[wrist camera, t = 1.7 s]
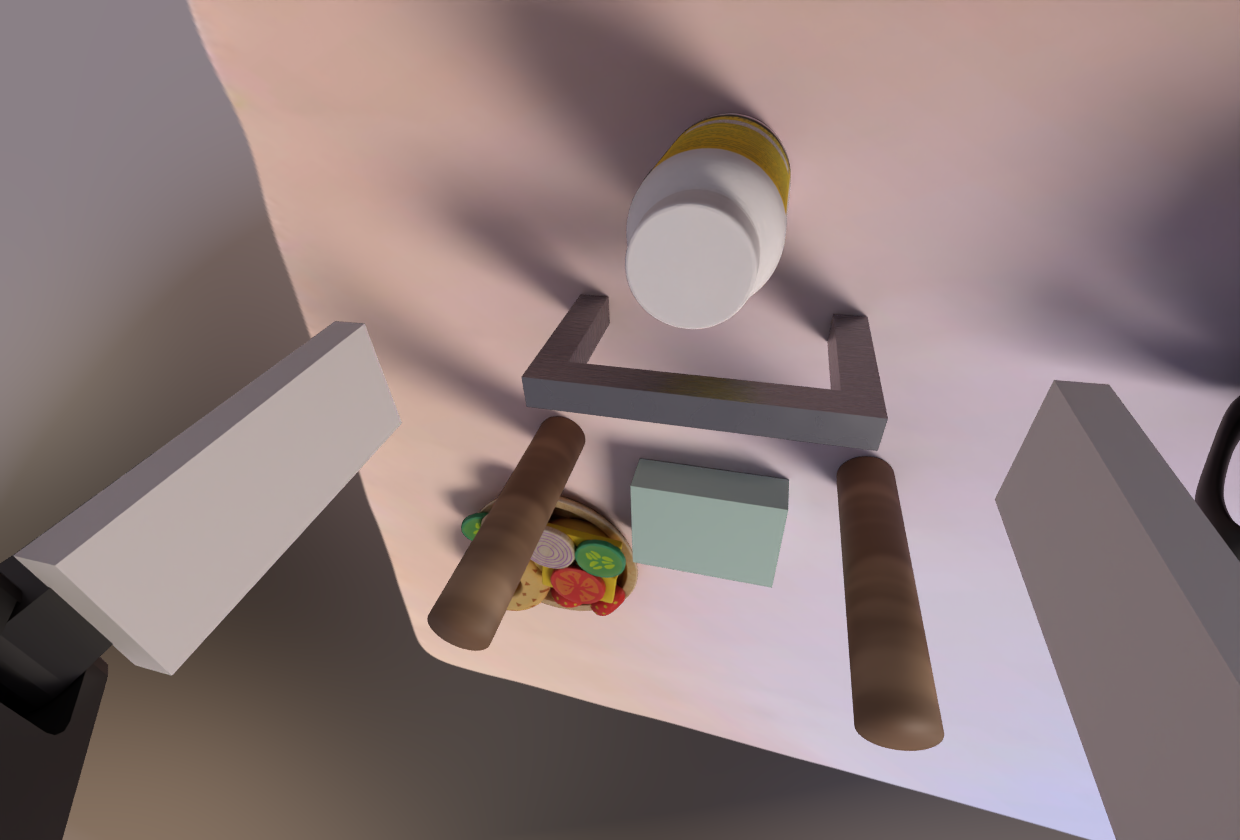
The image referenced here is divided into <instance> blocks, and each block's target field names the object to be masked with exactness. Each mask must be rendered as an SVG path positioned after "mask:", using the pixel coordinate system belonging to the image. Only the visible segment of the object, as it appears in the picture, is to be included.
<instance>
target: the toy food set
mask: <svg viewBox="0 0 1240 840" xmlns="http://www.w3.org/2000/svg"><path fill="white" fill-rule="evenodd" d="M497 499H498V498H497ZM497 499H495V500H493V501H492V502H490V503H488V504H487V505H486V506H485V507H484V508H483V509H482V510H481V511H480V513H475V514H472V515H469V516H468V517H466V518H465V519H464V520H463V522H462V526H461V530H462V533H463V534H464V535H465V537H467V538H468V539H469V540H472V541H473V539H474V537H475V536H476V534H477V532H478V531H479V529H480V527H481V526H482V524H483V522H484V520H485V519H486V517H487V515H488V514H489V512H490V510H491V509H492V507H493V505H494V504H495V502H496V500H497ZM637 576H638V569H637V563H635V562H633V551H632V549H631V547H630V546H629V544H628V542H627V541H626V540H625V538H624V537H623V536H622V535H621V533H620V532H619V531H618V530H617V529H616V528H615V527H614V526H613V525H612V524H611V523H610V522H609V521H607V520H606V519H605V518H604V517H602V516H601V515H600V514H598V513H597V512H595V511H594V510H592V509H590V508H589V507H587V506H585V505H583V504H581V503H579V502H576V501H574V500H571V499H568V498H565V497H562V496H560V498H559V500H558V502H557V504H556V506H555V508H554V510H553V512H552V514H551V517H550V519H549V521H548V523H547V525H546V527H545V529H544V531H543V533H542V536H541V538H540V540H539V542H538V544H537V546H536V548H535V550H534V553H533V555H532V557H531V559H530V561H529V563H528V565H527V567H526V569H525V572H524V574H523V576H522V578H521V580H520V582H519V584H518V586H517V588H516V591H515V593H514V595H513V597H512V599H511V601H510V603H509V605H508V607H507V610H512V611H520V610H526V609H529V608H532V607H534V606H536V605H538V604H539V603H544V604H547V605H551V606H554V607H558V608H563V609H569V610H577V611H590V610H593V611H594V612H595V613H596V614H597V615H600V616H606V615H608V614H610V613H612V612H613V611H614V610H615V609H617V608H618V607H619V606H620V605H621V604H622V603H623V601H624V599H626V598H627V597H628V596H629V595H630V594H631V592H632V591H633V589H634V588H635V585H636V582H637Z"/></svg>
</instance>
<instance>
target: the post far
mask: <svg viewBox="0 0 1240 840" xmlns="http://www.w3.org/2000/svg"><path fill="white" fill-rule="evenodd" d="M584 444H585V436H584V433H583V431H582V429H581V428H580V427H579V426H578V425H577V424H576V423H575V422H573V421H571V420H570V419H567V418H564V417H558V416H556V417H550V418H548V419H546V420H545V421H544V422H543V423H542V424H541V426H540V428H539V429H538V431H537V433H536V434H535V436H534V438H533V440H532V441H531V443H530V445H529V446H528V448H527V450H526V451H525V453H524V455H523V456H522V458H521V460H520V461H519V463H518V465H517V467H516V468H515V470H514V472H513V473H512V475H511V477H510V478H509V480H508V482H507V483H506V485H505V487H504V488H503V490H502V492H501V493H500V495H499V497H498V499H497V500H496V502H495V504H494V505H493V507H492V509H491V510H490V512H489V514H488V515H487V517H486V519H485V520H484V522H483V524H482V526H481V527H480V529H479V531H478V532H477V534H476V536H475V537H474V539H473V541H472V542H471V544H470V546H469V547H468V549H467V551H466V552H465V554H464V556H463V558H462V559H461V561H460V563H459V564H458V566H457V568H456V569H455V571H454V573H453V574H452V576H451V578H450V579H449V581H448V583H447V585H446V586H445V588H444V590H443V591H442V593H441V595H440V596H439V598H438V600H437V601H436V603H435V605H434V606H433V608H432V610H431V612H430V613H429V615H428V624H429V626H430V627H431V629H432V630H433V631H434V632H435V633H436V634H437V635H438V636H439V637H441V638H442V639H443V640H445V641H447V642H448V643H450V644H452V645H455V646H457V647H460V648H463V649H467V650H474V651H478V650H484V649H486V648H488V647H489V645H490V643H491V641H492V639H493V637H494V635H495V633H496V631H497V629H498V627H499V624H500V622H501V620H502V618H503V616H504V614H505V612H506V610H507V607H508V605H509V603H510V601H511V599H512V597H513V595H514V593H515V591H516V588H517V586H518V584H519V582H520V580H521V578H522V576H523V574H524V572H525V569H526V567H527V565H528V563H529V561H530V559H531V557H532V555H533V553H534V550H535V548H536V546H537V544H538V542H539V540H540V538H541V536H542V533H543V531H544V529H545V527H546V525H547V523H548V521H549V519H550V517H551V514H552V512H553V510H554V508H555V506H556V504H557V502H558V500H559V498H560V495H561V493H562V491H563V489H564V487H565V485H566V483H567V481H568V478H569V476H570V474H571V472H572V470H573V468H574V466H575V464H576V462H577V459H578V457H579V455H580V453H581V451H582V449H583V447H584Z"/></svg>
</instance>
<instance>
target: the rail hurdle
mask: <svg viewBox="0 0 1240 840" xmlns="http://www.w3.org/2000/svg"><path fill="white" fill-rule="evenodd" d="M609 323H610V319H609V300H608V297H604V296H592V295H580V296H579V297H578V299H577V300H576V302H575V303H574V304H573V306H572V307H571V309H570V310H569V311H568V313H567V314H566V316H565V317H564V318H563V320H562V321H561V323H560V324H559V325H558V327H557V328H556V330H555V331H554V332H553V334H552V335H551V337H550V338H549V339H548V341H547V342H546V343H545V345H544V346H543V348H542V349H541V350H540V352H539V353H538V355H537V356H536V357H535V359H534V360H533V362H532V363H531V364H530V366H529V367H528V369H527V370H526V371H525V373H524V374H523V376H522V383H523V389H524V395H525V400H526V406H527V407H534V408H542V409H550V410H558V411H566V412H574V413H582V414H590V415H597V416H605V417H613V418H621V419H629V420H637V421H645V422H653V423H661V424H669V425H677V426H685V427H692V428H700V429H708V430H716V431H724V432H732V433H740V434H748V435H756V436H764V437H772V438H780V439H788V440H795V441H803V442H811V443H819V444H827V445H835V446H843V447H851V448H859V449H867V450H875V451H878V448H879V445H880V442H881V439H882V435H883V432H884V429H885V426H886V423H887V420H888V417H887V412H886V407H885V402H884V397H883V392H882V387H881V382H880V377H879V372H878V367H877V362H876V357H875V352H874V347H873V342H872V337H871V332H870V327H869V322H868V317H862V316H849V315H837V314H833V319H832V323H831V328H830V333H829V337H828V342H827V343H828V356H829V370H830V383H831V390H830V389H821V388H811V387H802V386H792V385H783V384H773V383H764V382H755V381H745V380H736V379H726V378H717V377H707V376H698V375H688V374H679V373H669V372H660V371H650V370H641V369H631V368H622V367H613V366H603V365H594V364H587V362H588V360H589V359H590V357H591V355H592V353H593V352H594V350H595V348H596V346H597V344H598V343H599V341H600V339H601V337H602V336H603V334H604V332H605V330H606V329H607V327H608V325H609Z"/></svg>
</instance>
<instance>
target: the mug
mask: <svg viewBox="0 0 1240 840" xmlns="http://www.w3.org/2000/svg"><path fill="white" fill-rule="evenodd" d="M1239 441H1240V396H1239V397H1238V398H1236V399H1235V400H1234V401H1233V402H1232V403H1231V405H1230V406H1229V407H1228V409H1227V411H1226V412H1225V414H1224V416H1223V419H1222V421H1221V423H1220V425H1219V428H1218V430H1217V433H1216V435H1215V438H1214V441H1213V444H1212V446H1211V449H1210V452H1209V455H1208V457H1207V460H1206V463H1205V466H1204V468H1203V471H1202V474H1201V477H1200V480H1199V483H1198V486H1197V490H1196V495H1195V502H1196V503H1197V505H1198V506H1199V507H1200V509H1201V510H1202V512H1203V513H1204V514H1205V516H1206V517H1207V518H1208V520H1209V521H1210V522H1211V524H1212V525H1213V526H1214V528H1215V529H1216V531H1217V532H1218V533H1219V535H1220V536H1221V537H1222V539H1223V540H1224V541H1225V543H1226V544H1227V545H1228V547H1229V548H1230V550H1231V551H1232V552H1233V554H1234V555H1235V556H1236V558H1237V559H1238V560H1239V562H1240V526H1239V525H1238V524H1236V523H1235V522H1234V521H1233V520H1232V518H1231V517H1230V515H1229V513H1228V511H1227V508H1226V505H1225V502H1224V483H1225V477H1226V473H1227V469H1228V465H1229V462H1230V459H1231V456H1232V453H1233V451H1234V449H1235V447H1236V445H1237V443H1238V442H1239Z"/></svg>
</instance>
